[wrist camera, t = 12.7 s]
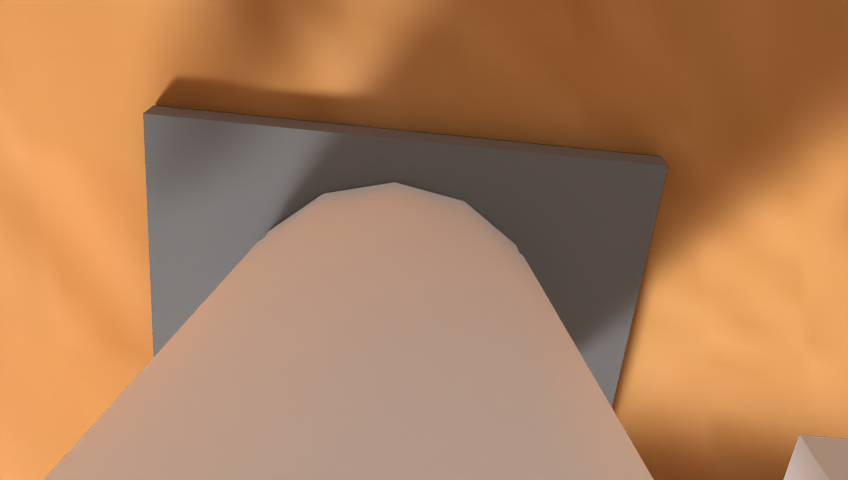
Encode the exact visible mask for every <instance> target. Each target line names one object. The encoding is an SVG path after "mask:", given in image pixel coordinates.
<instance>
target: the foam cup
mask: <svg viewBox="0 0 848 480" xmlns="http://www.w3.org/2000/svg"><path fill="white" fill-rule="evenodd" d="M44 480H654V479H653V478H652V476H651V474H650V473H649V471H648V469H647V467H646V466H645V464H644V462H643V461H642V459H641V457H640V455H639V454H638V452H637V450H636V449H635V447H634V445H633V443H632V442H631V440H630V438H629V436H628V435H627V433H626V431H625V430H624V428H623V426H622V424H621V423H620V421H619V419H618V418H617V416H616V414H615V412H614V411H613V409H612V407H611V406H610V404H609V402H608V400H607V399H606V397H605V395H604V394H603V392H602V390H601V388H600V387H599V385H598V383H597V382H596V380H595V378H594V376H593V375H592V373H591V371H590V369H589V368H588V366H587V364H586V363H585V361H584V359H583V357H582V356H581V354H580V352H579V351H578V349H577V347H576V345H575V344H574V342H573V340H572V339H571V337H570V335H569V333H568V332H567V330H566V328H565V327H564V325H563V323H562V321H561V320H560V318H559V316H558V314H557V313H556V311H555V309H554V308H553V306H552V304H551V302H550V301H549V299H548V297H547V296H546V294H545V292H544V290H543V289H542V287H541V285H540V284H539V282H538V280H537V278H536V277H535V275H534V273H533V272H532V270H531V268H530V266H529V265H528V263H527V261H526V260H525V258H524V256H523V255H521V254H520V253H519V251H518V248H517V246H516V245H515V244H514V243H513V242H512V241H511V240H510V239H508V238H507V237H506V236H505V235H504V234H502V233H501V232H500V231H499V230H498V229H497V228H495V227H494V226H493V225H492V224H491V223H490V222H488V221H487V220H486V219H485V218H484V217H482V216H481V215H480V214H479V213H478V212H477V211H475V210H474V209H473V208H472V207H471V206H469V205H468V204H467V203H466V202H465V201H462V200H458V199H455V198H451V197H447V196H443V195H440V194H436V193H432V192H429V191H425V190H421V189H418V188H414V187H410V186H407V185H403V184H399V183H396V182H393V183H387V184H380V185H374V186H368V187H361V188H355V189H349V190H343V191H336V192H330V193H324V194H322V195H320V196H319V197H318V198H316V199H315V200H313V201H312V202H310V203H309V204H307V205H306V206H305V207H303V208H302V209H300V210H299V211H297V212H296V213H294V214H293V215H292V216H290V217H289V218H287V219H286V220H284V221H283V222H281V223H280V224H278V225H277V226H276V227H274V228H273V229H271V230H270V231H268V232H267V234H266V236H265V237H264V238H263V239H261V240H260V241H258V242H257V243H256V244H255V245H254V247H253V248H252V249H251V250H250V251H249V252H248V253H247V254H246V255H245V257H244V258H243V259H242V260H241V261H240V262H239V263H238V264H237V265H236V267H235V268H234V269H233V270H232V271H231V272H230V273H229V274H228V275H227V277H226V278H225V279H224V280H223V281H222V282H221V283H220V284H219V285H218V287H217V288H216V289H215V290H214V291H213V292H212V293H211V294H210V295H209V297H208V298H207V299H206V300H205V301H204V302H203V303H202V304H201V305H200V307H199V308H198V309H197V310H196V311H195V312H194V313H193V314H192V315H191V317H190V318H189V319H188V320H187V321H186V322H185V323H184V324H183V325H182V327H181V328H180V329H179V330H178V331H177V332H176V333H175V334H174V335H173V337H172V338H171V339H170V340H169V341H168V342H167V343H166V344H165V345H164V347H163V348H162V349H161V350H160V351H159V352H158V353H157V354H156V355H155V357H154V358H153V359H152V360H151V361H150V362H149V363H148V364H147V366H146V367H145V368H144V369H143V370H142V371H141V372H140V373H139V374H138V376H137V377H136V378H135V379H134V380H133V381H132V382H131V383H130V384H129V386H128V387H127V388H126V389H125V390H124V391H123V392H122V393H121V394H120V396H119V397H118V398H117V399H116V400H115V401H114V402H113V403H112V404H111V406H110V407H109V408H108V409H107V410H106V411H105V412H104V413H103V414H102V416H101V417H100V418H99V419H98V420H97V421H96V422H95V423H94V424H93V426H92V427H91V428H90V429H89V430H88V431H87V432H86V433H85V434H84V436H83V437H82V438H81V439H80V440H79V441H78V442H77V443H76V444H75V446H74V447H73V448H72V449H71V450H70V451H69V452H68V453H67V454H66V456H65V457H64V458H63V459H62V460H61V461H60V462H59V463H58V464H57V466H56V467H55V468H54V469H53V470H52V471H51V472H50V473H49V475H48V476H47V477H46V478H45V479H44Z"/></svg>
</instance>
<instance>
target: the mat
mask: <svg viewBox="0 0 848 480" xmlns="http://www.w3.org/2000/svg"><path fill="white" fill-rule="evenodd" d="M143 118H144V141H145V164H146V187H147V211H148V234H149V257H150V280H151V303H152V326H153V349H154V357H155V355H156V354H157V353H158V352H159V351H160V350H161V349H162V348H163V347H164V345H165V344H166V343H167V342H168V341H169V340H170V339H171V338H172V337H173V335H174V334H175V333H176V332H177V331H178V330H179V329H180V328H181V327H182V325H183V324H184V323H185V322H186V321H187V320H188V319H189V318H190V317H191V315H192V314H193V313H194V312H195V311H196V310H197V309H198V308H199V307H200V305H201V304H202V303H203V302H204V301H205V300H206V299H207V298H208V297H209V295H210V294H211V293H212V292H213V291H214V290H215V289H216V288H217V287H218V285H219V284H220V283H221V282H222V281H223V280H224V279H225V278H226V277H227V275H228V274H229V273H230V272H231V271H232V270H233V269H234V268H235V267H236V265H237V264H238V263H239V262H240V261H241V260H242V259H243V258H244V257H245V255H246V254H247V253H248V252H249V251H250V250H251V249H252V248H253V247H254V245H255V244H256V243H257V242H258V241H260V240H261V239H263V238H264V237H265V236H266V234H267V232H268V231H270V230H271V229H273V228H274V227H276V226H277V225H278V224H280V223H281V222H283V221H284V220H286V219H287V218H289V217H290V216H292V215H293V214H294V213H296V212H297V211H299V210H300V209H302V208H303V207H305V206H306V205H307V204H309V203H310V202H312V201H313V200H315V199H316V198H318V197H319V196H320V195H322V194H324V193H330V192H336V191H343V190H349V189H355V188H361V187H368V186H374V185H380V184H387V183H393V182H396V183H399V184H403V185H407V186H410V187H414V188H418V189H421V190H425V191H429V192H432V193H436V194H440V195H443V196H447V197H451V198H455V199H458V200H462V201H465V202H466V203H467V204H468V205H469V206H471V207H472V208H473V209H474V210H475V211H477V212H478V213H479V214H480V215H481V216H482V217H484V218H485V219H486V220H487V221H488V222H490V223H491V224H492V225H493V226H494V227H495V228H497V229H498V230H499V231H500V232H501V233H502V234H504V235H505V236H506V237H507V238H508V239H510V240H511V241H512V242H513V243H514V244H515V245H516V246H517V248H518V251H519V253H520V254H521V255H523V256H524V258H525V260H526V261H527V263H528V265H529V266H530V268H531V270H532V272H533V273H534V275H535V277H536V278H537V280H538V282H539V284H540V285H541V287H542V289H543V290H544V292H545V294H546V296H547V297H548V299H549V301H550V302H551V304H552V306H553V308H554V309H555V311H556V313H557V314H558V316H559V318H560V320H561V321H562V323H563V325H564V327H565V328H566V330H567V332H568V333H569V335H570V337H571V339H572V340H573V342H574V344H575V345H576V347H577V349H578V351H579V352H580V354H581V356H582V357H583V359H584V361H585V363H586V364H587V366H588V368H589V369H590V371H591V373H592V375H593V376H594V378H595V380H596V382H597V383H598V385H599V387H600V388H601V390H602V392H603V394H604V395H605V397H606V399H607V400H608V402H609V404H610V406H611V407H612V405H613V401H614V397H615V392H616V388H617V384H618V379H619V375H620V371H621V366H622V362H623V358H624V354H625V349H626V345H627V341H628V336H629V332H630V328H631V324H632V319H633V315H634V311H635V306H636V302H637V298H638V294H639V289H640V285H641V281H642V276H643V272H644V268H645V264H646V259H647V255H648V251H649V246H650V242H651V238H652V234H653V229H654V225H655V221H656V216H657V212H658V208H659V204H660V199H661V195H662V191H663V186H664V182H665V178H666V174H667V169H668V165H667V164H666V163H665V162H664V160H663V159H662V158H661V157H660V156H651V155H641V154H631V153H621V152H611V151H601V150H591V149H582V148H572V147H562V146H552V145H542V144H532V143H522V142H512V141H502V140H492V139H482V138H472V137H462V136H452V135H442V134H432V133H422V132H412V131H402V130H392V129H382V128H372V127H362V126H352V125H342V124H332V123H323V122H313V121H303V120H293V119H283V118H273V117H263V116H253V115H243V114H233V113H223V112H213V111H203V110H193V109H183V108H173V107H163V106H152V107H151V108H150V109H149V110H147V111H146V112H145V113H143Z"/></svg>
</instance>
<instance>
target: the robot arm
mask: <svg viewBox="0 0 848 480" xmlns="http://www.w3.org/2000/svg"><path fill="white" fill-rule="evenodd" d="M783 480H848V439H844V438H833V437H822V436H811V435H800V434H799V437H798V440H797V443H796V445H795V448H794V451H793V454H792V457H791V460H790V462H789V465H788V468H787V471H786V474H785V477H784V479H783Z"/></svg>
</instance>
